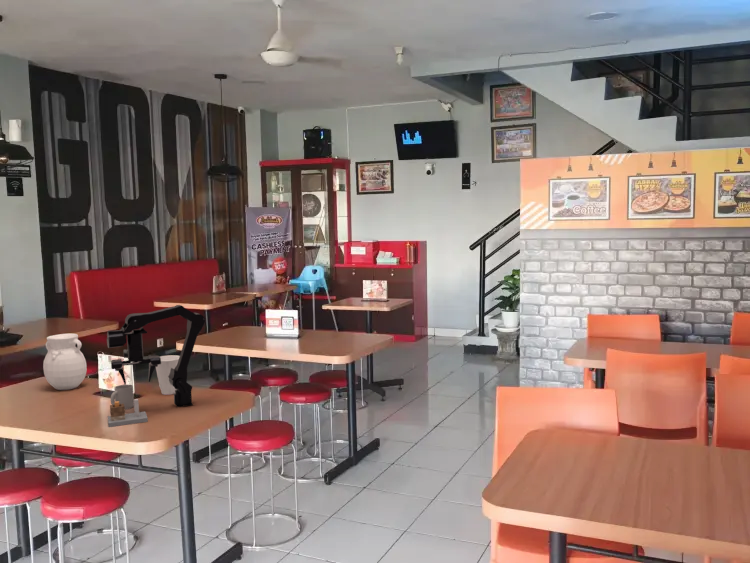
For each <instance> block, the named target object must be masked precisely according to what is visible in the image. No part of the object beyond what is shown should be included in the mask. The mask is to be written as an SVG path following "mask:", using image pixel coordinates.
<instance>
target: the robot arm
mask: <svg viewBox="0 0 750 563" xmlns="http://www.w3.org/2000/svg"><path fill="white" fill-rule="evenodd" d="M177 316H180V317H181V318H183V319H184V320H186V335H185V339H184V342H183V345H182V349H181V351H180V354H179V356H180V357H179V360H178V364H177V366H176V367H175V368H174V369H173V368H171V370H170V374H169V376H168V377H169V382H170V384H171V385H172V386H173V387H175V389H176V390H175V394H173V404H174V405H175V407H176V408H181V407H188V406H189V407H190V406H193V405H194V404H193V402H192V401H193V400H192V398H193V397H192V390H193V386H192V385H191V384H190V383H188V367H189V363H190V360H191V359H192V358H191V357H192V355H193V350H194V347H195V345H196V340H197V337H198V335H200V332H201V331H202V330H203V328H204V326H205V323H206V318H205V316H204V315H202V314H201V313H198V312H193V311H191V310H189V309H188V308H186V307H185V306H183V305H182V304H181V305H180V304H176V305H174V306H170V307H165V308H162V309H158V310H154V311H149V312H137V313H135V312H134V313H130V314H127V316H126V317H125V319H124V324H122V327H121V328H120V329H119V330H118V329H116V330H107V334H106V336H107V337H106V344H107V348H108V349H111V348H122V347H124V346H125V345H126V344H127V349H123V351H122V353H123V354H122V355H123V358H124V359H127V360H122V359H121V358H118V359H112V360H111V361H110V368H111V370H115V372H118V373H119V375H120V377H121V379H122V381H123V385H127V384H126V383H127V381H126V377H125V371H124V368H123V367H124V366H125V367H126V366H133V365H141V364H142V365H143V364H148V383H150V382H151V379H152V377H153V373H154V370H156V367H157V366H158V364H161V358H160V357H161V356H159V355H157V354H156V355H150V356H149V358H144V348H143V346H144V345H143V344H144V343H143V335H144V334H148V331H147V330H145V329H144V327H145V326H147V325H149V324H150V323H154V322H157V321H161V320H166V319H169V318H173V317H177Z"/></svg>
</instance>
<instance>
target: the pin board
mask: <svg viewBox="0 0 750 563" xmlns="http://www.w3.org/2000/svg"><path fill="white" fill-rule="evenodd" d="M139 403H140V402H139V398H134V407H133V410H134V412H129V413H125V419H123V420H116V421H111V415H108V416H107V424H108V425H107V426H108V428H110V427H111V428H112V427H119V426H126V425H134V424H139V423H140V424H142V423H148V420H149V419H148V416H147V412H146V411H140V406H139V405H140V404H139ZM115 407H119V401H116V402H115Z"/></svg>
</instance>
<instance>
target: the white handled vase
mask: <svg viewBox="0 0 750 563" xmlns="http://www.w3.org/2000/svg"><path fill="white" fill-rule="evenodd" d="M76 345H77V346H76ZM82 345H83V344H82V342H81V340H79V335H78V334H77V333H71V332H70V333H61V334H54V335H49V336H47V337H46V342H45V349H46V350H47V353H46V354H45V357H44V359H43V365H42V367H43V368H42V369H43V375H44V378H45V379H46V381H47V383H48V384H50V386H51V387H53V388H54V389H55V390H57V391H67V390H72V389H77V388H78V387H79V386H80V384H82V383H83V381H84V379H85V378H86V376H87V367H88V366H87V365H88V364H87V360H86V358H85V356H84V353H83V352H82V351H81V348H82Z"/></svg>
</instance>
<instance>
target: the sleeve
mask: <svg viewBox="0 0 750 563" xmlns="http://www.w3.org/2000/svg"><path fill="white" fill-rule="evenodd" d="M125 411H126V410H125V406H124V403H122V404H119V407H115V405H112V404H109V412H110V416H111V421H116V420H123V419H125V414H126V412H125Z"/></svg>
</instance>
